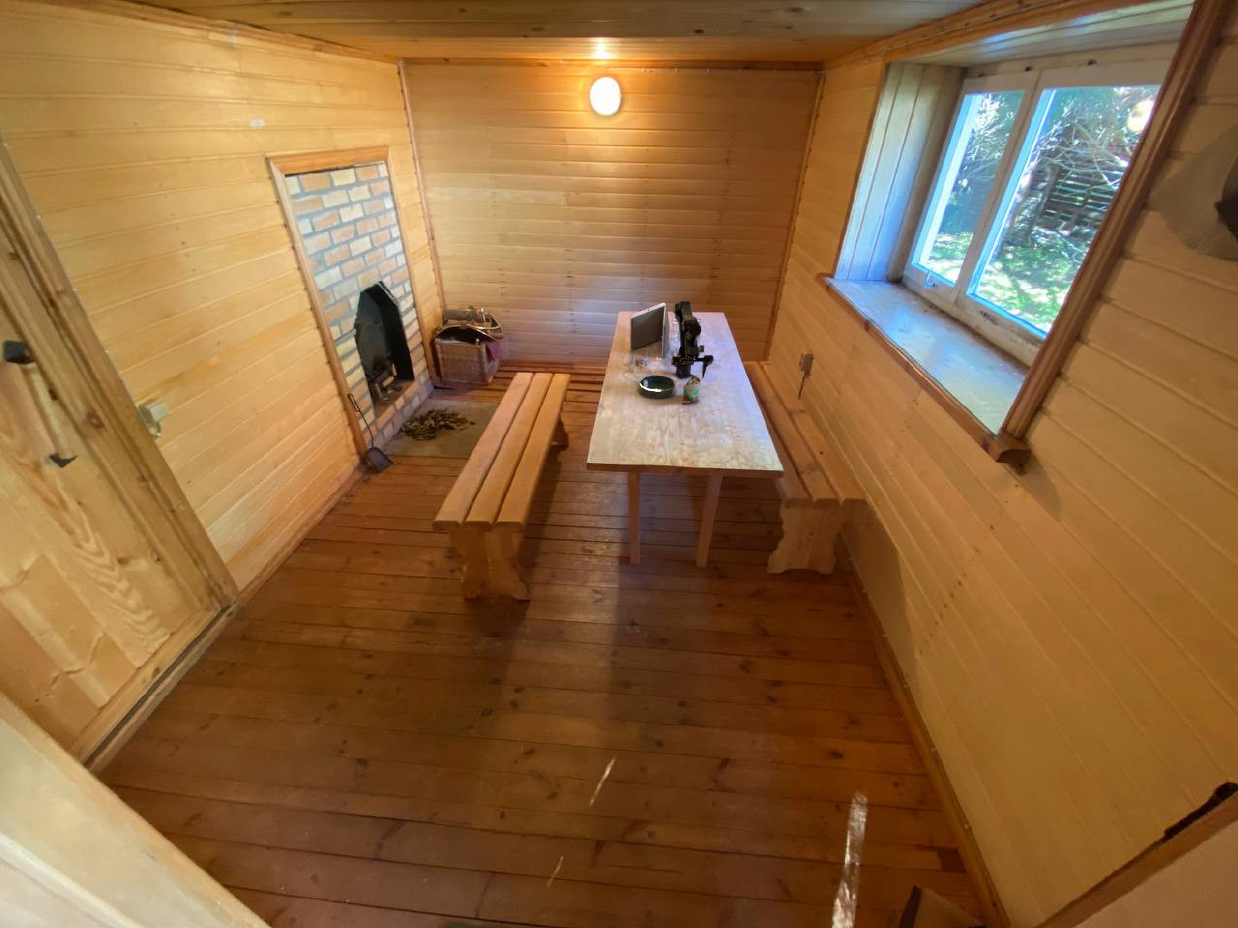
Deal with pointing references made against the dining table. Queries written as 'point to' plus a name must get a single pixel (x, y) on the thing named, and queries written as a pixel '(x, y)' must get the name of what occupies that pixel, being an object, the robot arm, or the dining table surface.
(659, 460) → the dining table surface
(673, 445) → the dining table surface
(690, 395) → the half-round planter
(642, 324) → the silver laptop
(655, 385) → the bowl
